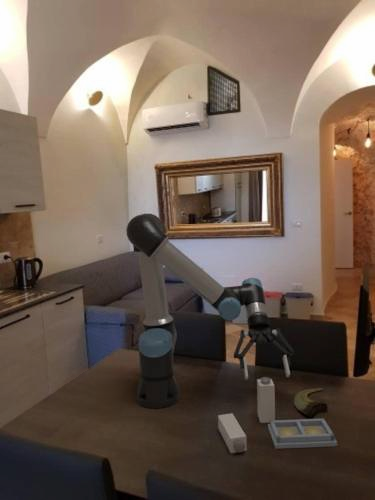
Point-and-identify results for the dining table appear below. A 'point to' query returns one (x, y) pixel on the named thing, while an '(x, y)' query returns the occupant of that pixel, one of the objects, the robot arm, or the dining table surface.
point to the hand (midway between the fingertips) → (267, 376)
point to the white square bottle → (266, 400)
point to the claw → (309, 403)
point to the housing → (301, 433)
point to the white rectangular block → (232, 433)
